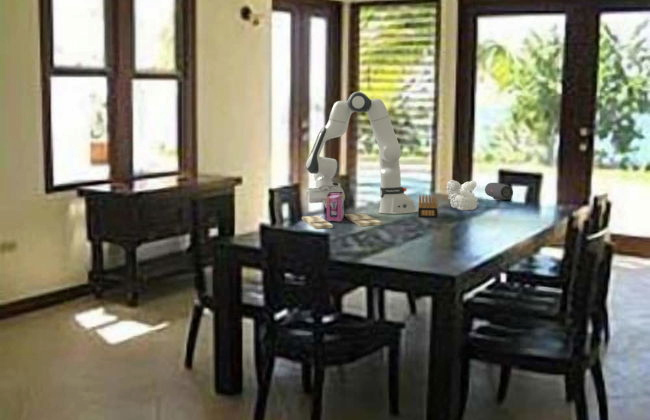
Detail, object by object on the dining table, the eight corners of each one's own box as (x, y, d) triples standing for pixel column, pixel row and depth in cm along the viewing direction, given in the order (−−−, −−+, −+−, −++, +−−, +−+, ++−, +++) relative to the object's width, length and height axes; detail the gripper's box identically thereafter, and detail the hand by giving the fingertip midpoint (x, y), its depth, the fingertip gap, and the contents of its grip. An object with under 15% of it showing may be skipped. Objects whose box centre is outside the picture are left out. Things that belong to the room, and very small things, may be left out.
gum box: (341, 222, 470) (340, 196, 468) (326, 222, 470) (325, 196, 469) (344, 216, 493) (343, 191, 492) (329, 216, 494) (329, 191, 492)
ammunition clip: (438, 217, 474) (438, 194, 473) (437, 217, 472) (437, 195, 471) (419, 217, 478) (418, 194, 477) (418, 217, 477) (417, 194, 475)
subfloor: (363, 215, 491) (363, 212, 491) (381, 224, 452) (381, 221, 452) (301, 219, 485) (301, 216, 485) (315, 228, 446) (315, 225, 446)
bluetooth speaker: (483, 198, 557) (483, 182, 556) (497, 197, 560) (497, 181, 558) (499, 201, 536) (499, 185, 534) (514, 200, 538) (513, 184, 537)
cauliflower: (468, 195, 492) (447, 174, 505) (454, 224, 502) (434, 203, 515) (493, 194, 502) (472, 174, 515) (479, 222, 512) (459, 202, 525)
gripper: (306, 185, 498) (310, 204, 489) (342, 183, 501) (347, 202, 493) (305, 192, 503) (309, 211, 494) (341, 190, 506) (345, 209, 498)
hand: (328, 207), depth 494 cm, fingers closed
